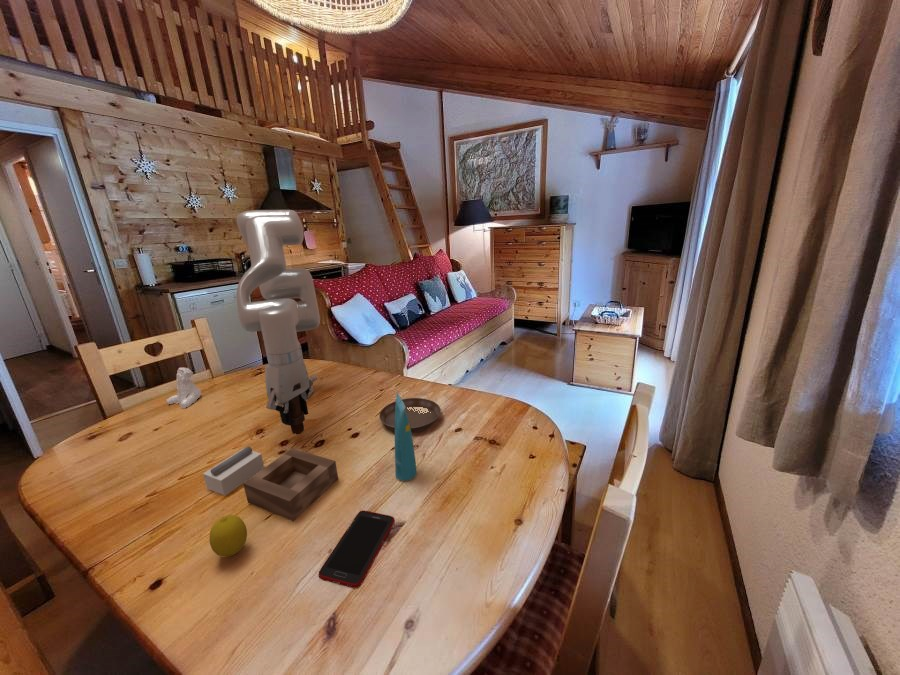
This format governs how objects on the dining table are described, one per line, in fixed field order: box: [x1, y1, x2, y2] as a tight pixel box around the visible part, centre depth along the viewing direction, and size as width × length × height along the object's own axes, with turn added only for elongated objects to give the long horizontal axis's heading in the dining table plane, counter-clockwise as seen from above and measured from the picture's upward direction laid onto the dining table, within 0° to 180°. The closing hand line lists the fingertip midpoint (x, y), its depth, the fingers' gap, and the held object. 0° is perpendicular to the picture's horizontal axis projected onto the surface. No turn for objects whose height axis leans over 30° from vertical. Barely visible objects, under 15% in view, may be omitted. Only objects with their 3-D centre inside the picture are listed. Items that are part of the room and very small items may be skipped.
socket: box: [242, 447, 339, 522], centre depth 79 cm, size 13×13×5 cm
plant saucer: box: [378, 397, 442, 434], centre depth 106 cm, size 18×18×3 cm
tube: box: [394, 392, 418, 482], centre depth 81 cm, size 7×5×19 cm, turn 26°
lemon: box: [208, 514, 248, 558], centre depth 64 cm, size 6×6×8 cm
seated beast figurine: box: [166, 366, 202, 409], centre depth 120 cm, size 10×9×12 cm
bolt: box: [288, 383, 306, 436], centre depth 96 cm, size 6×5×15 cm
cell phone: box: [318, 510, 395, 589], centre depth 66 cm, size 8×15×1 cm, turn 164°
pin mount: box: [202, 445, 265, 497], centre depth 83 cm, size 10×6×6 cm, turn 156°
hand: (295, 418), depth 97 cm, fingers closed on bolt, 4 cm apart
